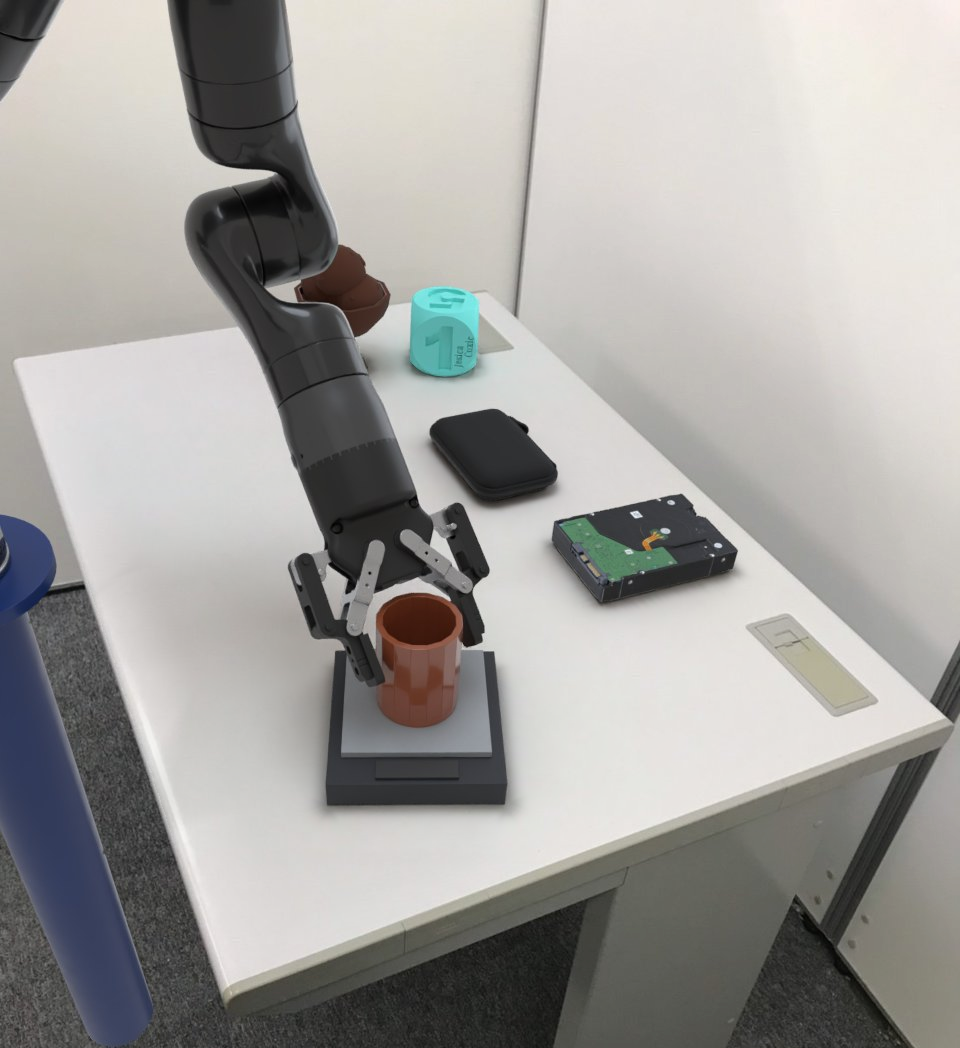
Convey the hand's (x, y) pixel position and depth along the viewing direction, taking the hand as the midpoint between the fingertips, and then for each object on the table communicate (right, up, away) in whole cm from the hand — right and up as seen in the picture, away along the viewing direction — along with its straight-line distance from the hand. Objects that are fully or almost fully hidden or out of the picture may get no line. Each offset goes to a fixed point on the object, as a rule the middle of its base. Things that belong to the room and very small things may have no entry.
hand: (427, 664), depth 73 cm
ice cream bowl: (-13, +35, +49) cm, 61 cm away
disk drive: (+19, +10, +24) cm, 32 cm away
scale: (-1, -6, +5) cm, 8 cm away
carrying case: (+6, +21, +35) cm, 41 cm away
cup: (-1, -3, +4) cm, 5 cm away
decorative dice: (-1, +36, +51) cm, 63 cm away
